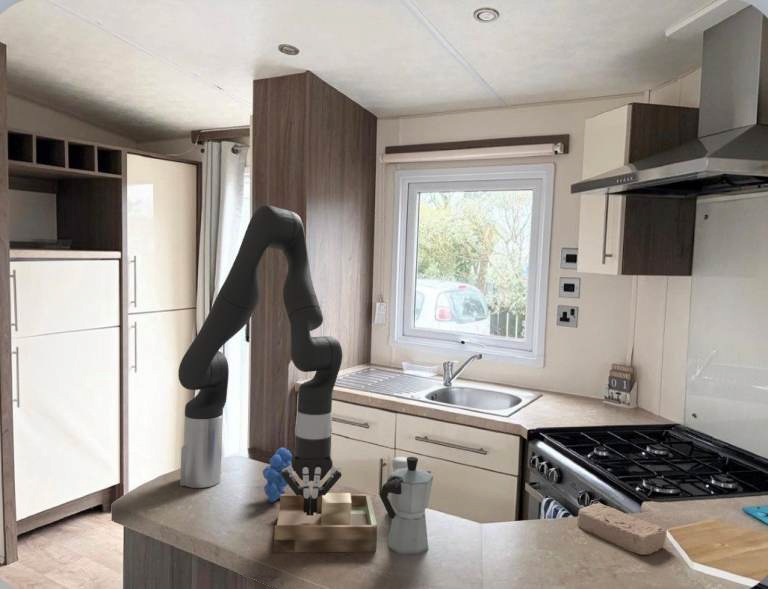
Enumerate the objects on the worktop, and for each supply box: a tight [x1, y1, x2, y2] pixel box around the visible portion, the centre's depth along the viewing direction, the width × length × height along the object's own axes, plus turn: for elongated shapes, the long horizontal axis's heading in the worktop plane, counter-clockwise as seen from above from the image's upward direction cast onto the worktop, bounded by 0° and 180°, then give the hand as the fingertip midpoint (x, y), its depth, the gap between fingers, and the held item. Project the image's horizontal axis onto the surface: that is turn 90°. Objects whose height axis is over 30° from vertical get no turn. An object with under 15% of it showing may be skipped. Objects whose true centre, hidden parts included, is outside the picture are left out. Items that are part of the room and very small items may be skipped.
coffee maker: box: [378, 456, 434, 556], centre depth 113 cm, size 15×9×18 cm, turn 135°
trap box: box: [273, 493, 378, 553], centre depth 117 cm, size 20×16×5 cm
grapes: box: [262, 446, 293, 503], centre depth 134 cm, size 12×7×12 cm, turn 165°
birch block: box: [321, 492, 352, 525], centre depth 118 cm, size 6×5×5 cm
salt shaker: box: [388, 456, 408, 510], centre depth 128 cm, size 6×6×13 cm
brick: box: [576, 502, 666, 556], centre depth 122 cm, size 17×8×5 cm, turn 35°
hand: (309, 513), depth 117 cm, fingers closed
